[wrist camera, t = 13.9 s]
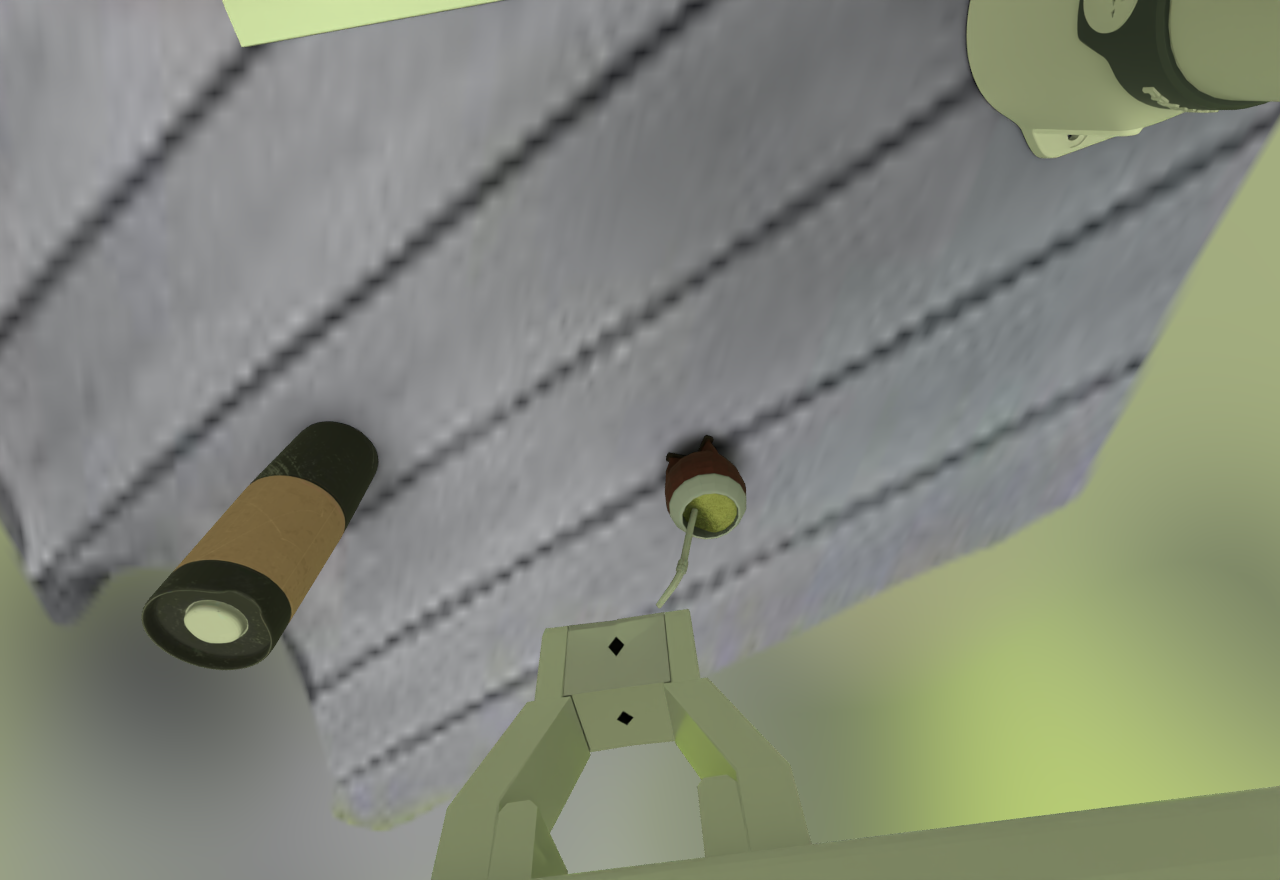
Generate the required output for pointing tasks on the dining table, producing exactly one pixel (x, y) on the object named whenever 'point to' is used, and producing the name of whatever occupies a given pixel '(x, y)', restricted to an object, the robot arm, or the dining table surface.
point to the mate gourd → (702, 499)
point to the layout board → (323, 15)
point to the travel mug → (263, 552)
